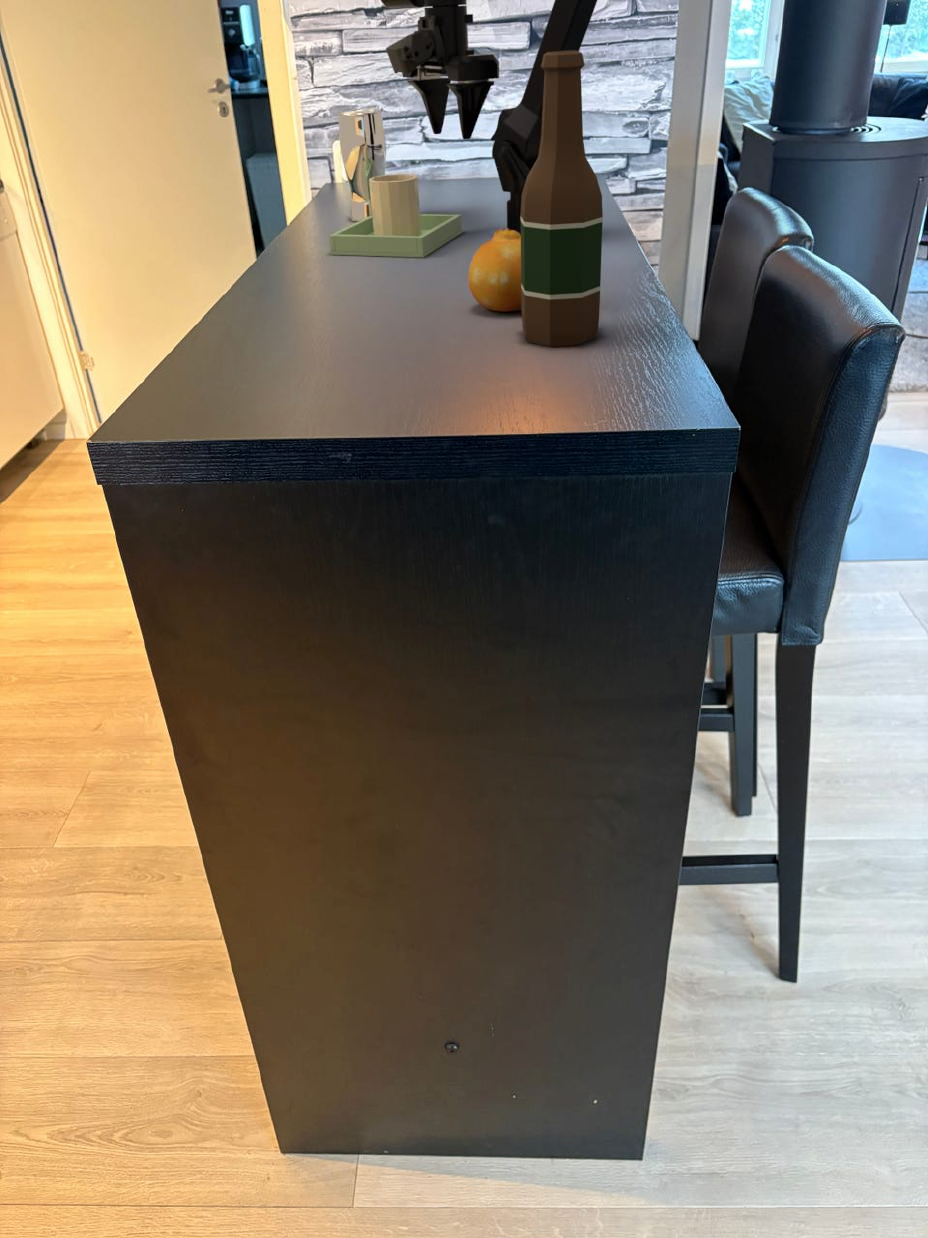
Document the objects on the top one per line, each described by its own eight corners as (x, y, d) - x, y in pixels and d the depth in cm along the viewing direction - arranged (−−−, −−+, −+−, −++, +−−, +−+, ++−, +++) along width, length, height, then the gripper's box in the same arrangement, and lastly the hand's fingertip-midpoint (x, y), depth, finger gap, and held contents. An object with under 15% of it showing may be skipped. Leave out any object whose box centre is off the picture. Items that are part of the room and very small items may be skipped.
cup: (428, 235, 133) (424, 173, 128) (411, 245, 127) (406, 181, 123) (385, 234, 135) (380, 173, 130) (367, 244, 129) (361, 181, 125)
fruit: (496, 269, 106) (482, 212, 99) (562, 281, 103) (553, 222, 96) (466, 323, 103) (450, 268, 96) (533, 337, 100) (521, 281, 93)
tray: (462, 232, 135) (461, 214, 134) (423, 257, 123) (422, 237, 122) (376, 230, 139) (375, 213, 138) (330, 254, 127) (328, 235, 126)
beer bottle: (606, 326, 94) (617, 46, 81) (589, 349, 88) (598, 52, 74) (532, 322, 96) (530, 50, 83) (510, 345, 90) (505, 55, 77)
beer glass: (385, 222, 145) (375, 113, 136) (342, 222, 146) (330, 114, 138) (396, 213, 150) (388, 108, 142) (355, 214, 152) (344, 109, 143)
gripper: (363, 10, 129) (374, 136, 138) (421, 7, 115) (429, 148, 124) (435, 6, 133) (441, 129, 142) (499, 3, 119) (502, 139, 128)
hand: (451, 136), depth 134 cm, fingers open, 9 cm apart
